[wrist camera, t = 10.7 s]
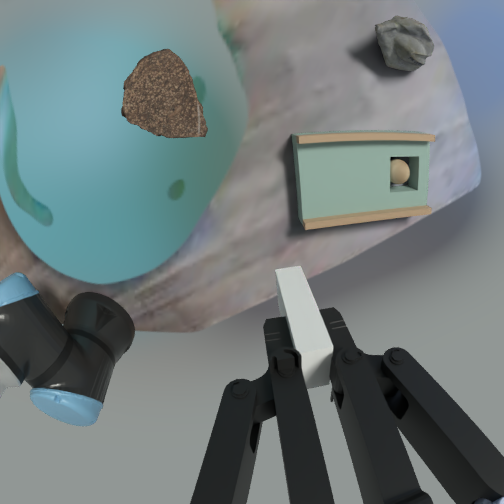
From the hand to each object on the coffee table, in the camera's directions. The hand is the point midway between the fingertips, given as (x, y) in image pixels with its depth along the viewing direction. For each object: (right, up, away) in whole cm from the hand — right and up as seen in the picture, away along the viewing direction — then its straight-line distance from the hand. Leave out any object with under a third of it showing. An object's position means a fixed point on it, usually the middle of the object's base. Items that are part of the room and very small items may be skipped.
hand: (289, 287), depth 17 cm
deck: (+15, +15, +23) cm, 31 cm away
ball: (+20, +15, +22) cm, 33 cm away
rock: (-14, +23, +17) cm, 32 cm away
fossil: (+19, +34, +14) cm, 42 cm away
